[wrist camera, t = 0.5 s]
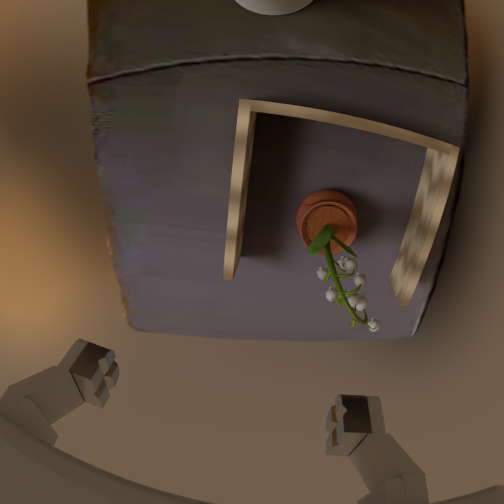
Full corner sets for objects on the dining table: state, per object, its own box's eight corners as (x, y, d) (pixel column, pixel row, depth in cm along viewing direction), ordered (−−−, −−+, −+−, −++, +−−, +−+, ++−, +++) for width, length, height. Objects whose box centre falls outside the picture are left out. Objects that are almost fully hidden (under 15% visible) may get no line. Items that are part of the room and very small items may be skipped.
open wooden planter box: (248, 99, 43) (239, 98, 36) (437, 139, 41) (459, 147, 34) (232, 255, 56) (223, 278, 49) (395, 280, 54) (407, 306, 47)
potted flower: (373, 223, 50) (423, 318, 28) (331, 260, 54) (349, 368, 32) (326, 173, 47) (354, 242, 25) (282, 215, 51) (272, 310, 29)
